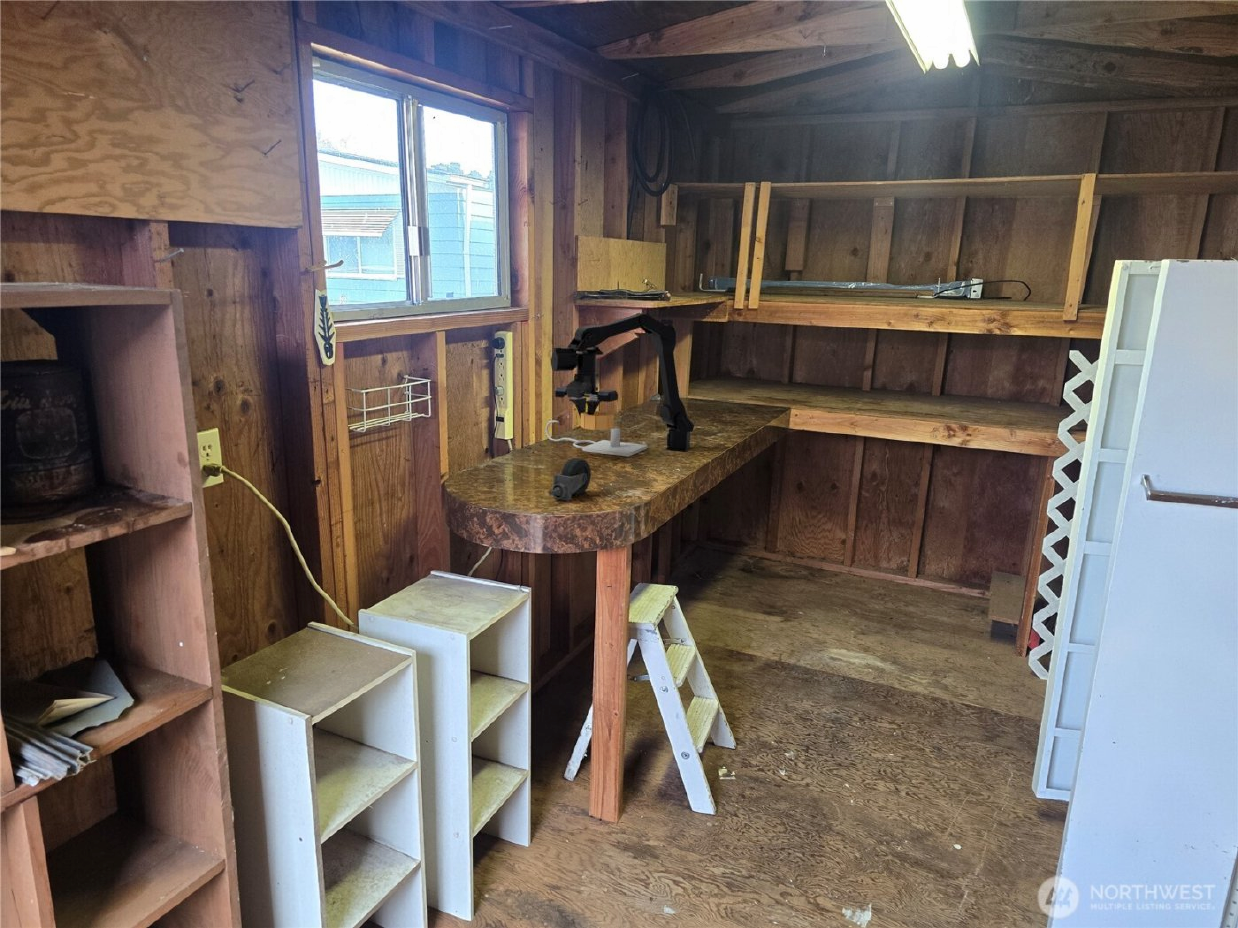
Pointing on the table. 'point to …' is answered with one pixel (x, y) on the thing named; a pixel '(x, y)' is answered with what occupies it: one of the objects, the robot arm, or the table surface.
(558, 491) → the caster wheel
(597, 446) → the post board
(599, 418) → the wooden bowl
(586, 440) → the hook
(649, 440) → the table surface
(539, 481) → the table surface
